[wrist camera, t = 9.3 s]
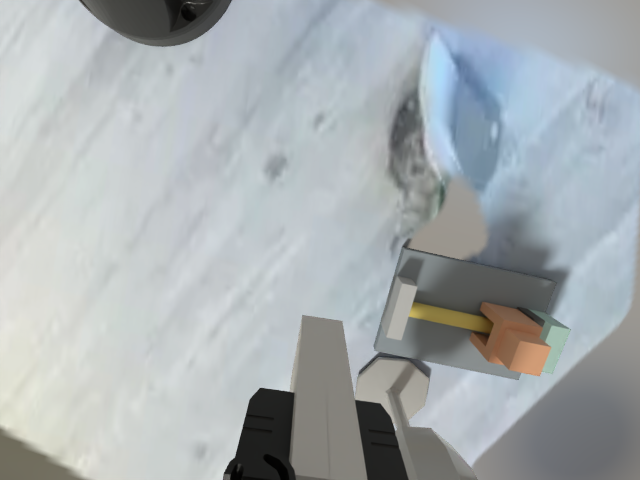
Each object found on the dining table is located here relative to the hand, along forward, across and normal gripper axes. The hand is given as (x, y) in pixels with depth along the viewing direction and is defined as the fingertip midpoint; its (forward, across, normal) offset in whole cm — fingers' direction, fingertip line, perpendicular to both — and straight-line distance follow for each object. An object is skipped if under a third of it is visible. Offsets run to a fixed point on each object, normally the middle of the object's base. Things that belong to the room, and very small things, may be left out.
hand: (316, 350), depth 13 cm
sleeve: (+23, +21, -8) cm, 32 cm away
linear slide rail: (+24, +18, -8) cm, 31 cm away
